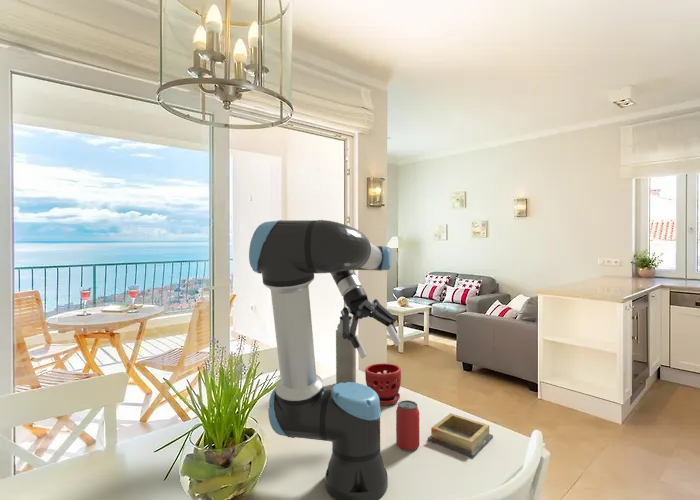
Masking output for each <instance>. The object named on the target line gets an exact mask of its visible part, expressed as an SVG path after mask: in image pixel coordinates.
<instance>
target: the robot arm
mask: <svg viewBox="0 0 700 500" xmlns="http://www.w3.org/2000/svg"><path fill="white" fill-rule="evenodd" d="M248 261H249V265H250V268H251V269H252V271H253V272H255V273H256V274H259V275H260V274H261V278H262V283H263V286H265V287H266V288H268V289H269V290H270V296H271V303H272V305H271V306H272V313H273V321H274V322H273V323H274V332H275V338H276V348H277V358H278V367H279V376H280V380H279V381H278V382H277V383H276V385H275V387H274V388H273V390H272V391H271V393H270V396H269V401H268V405H269V407H268V409H267V410H268V412H267V413H268V420H269V424H270V427H271V429H272V430H273V432H274V433H275V434H276V435H279V436H282V437H287V438H290V439H296V438H297V439H307V440H315V441H323V442H324V441H326V442H331V443H332V444H331V445H332V446H331V447H332V448H331V449H332V450H331V451H332V452H331V456H330V458H329V462H328V465H327V469H326V472H325V477H324V478H325V481H324V484H325V490H326V491H327V493H328V495H330V496H331V498H333V499H335V500H379V499H380V498H382V497H383V496H384V494H385V493H386V492H387V490H388V488H389V487H388V486H389V485H388V484H389V483H388V480H389V479H388V478H389V476H388V472H387V469H386V467H385V464H384V461H383V457H382V454H381V415H382V411H381V405H380V400H379V396H378V394H377V393H376V392H375V391H374V390H373V389H372V388H370V387H368V386H367V384H362V383H360V382H359V383H358V382H356V383H354V382H346V383H338V384H334V386H332V389H326V388H324V380H323V379H322V377H321V376H320V375H318V374H317V370H316V357H315V347H314V334H313V333H314V332H313V324H312V323H313V321H312V313H311V311H312V310H311V299H310V287H309V286H310V284H311V283H312V282H313V281H314V280H315V274H330V275H331V277H332V279H333V281H334V283H335V284H336V287H337V288H338V291H339V292H340V294H341V296H342V299H343V301H344V304H345V305H346V306H343V308H342V310H341V311H340V315H341V316H342V317H343V339H348V340H349V341H350V340H351V342H352V345H353V347H354V348H356V351H357V352H358V355H359V357H360V358H361V359H364V358H365V357H367V356H368V353H367V351H366V349H365V347H364V345H363V343H362V341H361V338H360V337H359V335H358V334H356V336H355V333H356V332H357V327H358V324H359V320H362V319H363V318H369V317H370V318H372V319H373V320H376V321H378V322H379V323H381V324H383V325H384V326H386V329H385V330H386V331H387V332H388V335H389V336H390V339H391V340H392V342H393V344H394V346H395V347H397V346H399V345H400V344H402V341H401V339H400V337H399V335H398V330H397V328H396V326H395V325H394V324H395V323H396V321H397V318H396V317H395V316H394V315H393V314H392V313H390V312H389V310H387V309H386V308H385V307H384V306H383V305H382V304H381V303H380V302H379V300H378V299H376V298H375V299H374V300H373V301H370V300H369V298H368V295H367V293H366V291H365V288H363V285H362V283H361V281H360V279H359V277H358V276H357V274H356V272H355V271H380V272H383V271H389V270H391V267H392V249H391V248H390V247H389V246H383V245H379V246H378V245H375V244H373V243H371V242H370V240H369V239H368V237H367V235H366V234H364V233H363V232H362V231H360V230H358V229H357V228H355V227H352V226H350V225H347V224H345V223H341V222H337V221H333V220H325V219H317V220H313V219H312V220H307V219H306V220H303V219H302V220H281V219H280V220H270V221H265V222H262V223H260V224H259V225H258V226H257V227H256V228H255V230H254V232H253V234H252V237H251V240H250V242H249V249H248ZM350 314H351V315H352V319H351V320H352V324H351V328H350V332H349V316H350Z"/></svg>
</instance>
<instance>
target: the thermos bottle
mask: <svg viewBox="0 0 700 500" xmlns="http://www.w3.org/2000/svg"><path fill="white" fill-rule="evenodd" d="M352 318H353V316H350V315H349V332H350V328H351V324H352ZM356 335H357V334H356V333H355V336H356ZM356 353H357V348H354V347H353V345H352V342H351V340H350V341H349V340H348V339H343V317H342V315H341V316H339V323H338V324H337V329H336V330H335V372H336V373H335V374H336V375H335V377H336V378H335V382H336V384H338V383H346V382H354V383H357V367H356V364H357V361H356V359H357V355H356ZM336 384H335V385H336Z"/></svg>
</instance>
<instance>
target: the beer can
mask: <svg viewBox="0 0 700 500" xmlns="http://www.w3.org/2000/svg"><path fill="white" fill-rule="evenodd" d="M395 411H396V412H395V425H396V428H395V430H396V431H395V433H396V434H395V436H396V437H395V441H396V442H395V443H396V445H397V447H398V448H399V449H401V450H403V451H406V452H407V451H408V452H409V451H415V450H417V449H418V448H419V446H420V409H419V407H418V403H416V402H415V401H412V400H406V399H405V400H401V401H399V402H398V403H397V407H396V410H395Z"/></svg>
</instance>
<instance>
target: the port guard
mask: <svg viewBox="0 0 700 500" xmlns="http://www.w3.org/2000/svg"><path fill="white" fill-rule="evenodd" d="M430 430H431V435H429V436H428V437H427V441H428V442H430V443H433V444H435V445H439V446H441V447H444V448H446V449H448V450H452V451H453V452H456V453H459V454H462V455H464V456H468V457H469V458H472V459H474V458H475V457H476V456H477V455H478V454H479V453H480V452H481V451H482V450H483V448H485V446H486V445H488V443H489V442H491V441H492V439H494V435H493V434H490V425H489V424H486V423H484V422H480V421H476V420H474V419H471V418H467V417H464V416H461V415H458V414H455V413H449V414H447V415H446V416H445V417H444V418H442V419H441V420H440V421H439V422H437V423H436V424H434V425H433V426H432V427H431V428H430Z"/></svg>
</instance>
